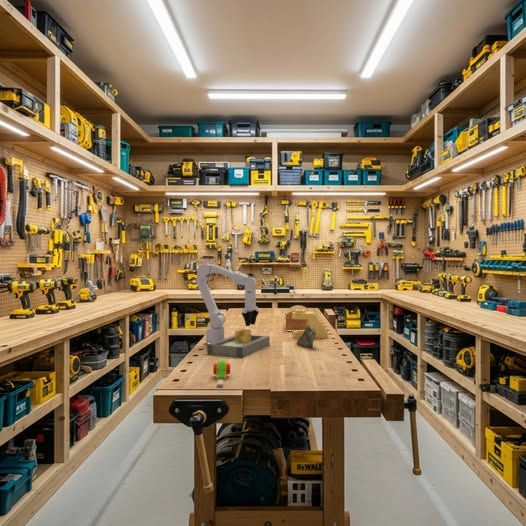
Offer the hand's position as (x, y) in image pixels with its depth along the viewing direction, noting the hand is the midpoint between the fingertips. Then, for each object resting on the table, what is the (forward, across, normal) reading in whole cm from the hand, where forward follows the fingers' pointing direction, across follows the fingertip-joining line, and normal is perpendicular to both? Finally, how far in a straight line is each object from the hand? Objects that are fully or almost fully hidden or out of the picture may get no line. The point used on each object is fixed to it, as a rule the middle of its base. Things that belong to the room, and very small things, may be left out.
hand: (250, 325), depth 212 cm
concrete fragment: (+11, +9, -28) cm, 31 cm away
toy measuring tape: (+11, -61, -18) cm, 65 cm away
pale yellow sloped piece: (+11, +35, -21) cm, 42 cm away
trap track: (+10, -12, 0) cm, 16 cm away
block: (+7, -8, 0) cm, 11 cm away
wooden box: (+11, +63, -4) cm, 64 cm away
